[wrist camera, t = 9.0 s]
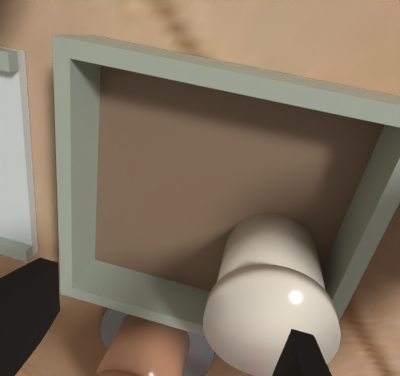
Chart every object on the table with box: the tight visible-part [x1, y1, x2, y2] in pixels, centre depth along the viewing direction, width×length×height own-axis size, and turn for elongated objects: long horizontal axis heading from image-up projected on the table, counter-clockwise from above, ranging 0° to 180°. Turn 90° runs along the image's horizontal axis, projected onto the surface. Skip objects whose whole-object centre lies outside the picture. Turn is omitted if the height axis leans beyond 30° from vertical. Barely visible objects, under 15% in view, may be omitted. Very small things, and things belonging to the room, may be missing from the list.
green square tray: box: [52, 35, 400, 336], centre depth 18 cm, size 16×15×4 cm
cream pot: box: [203, 214, 341, 376], centre depth 17 cm, size 6×6×6 cm
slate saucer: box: [100, 308, 215, 376], centre depth 25 cm, size 9×9×1 cm
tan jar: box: [92, 314, 190, 376], centre depth 22 cm, size 6×6×6 cm
